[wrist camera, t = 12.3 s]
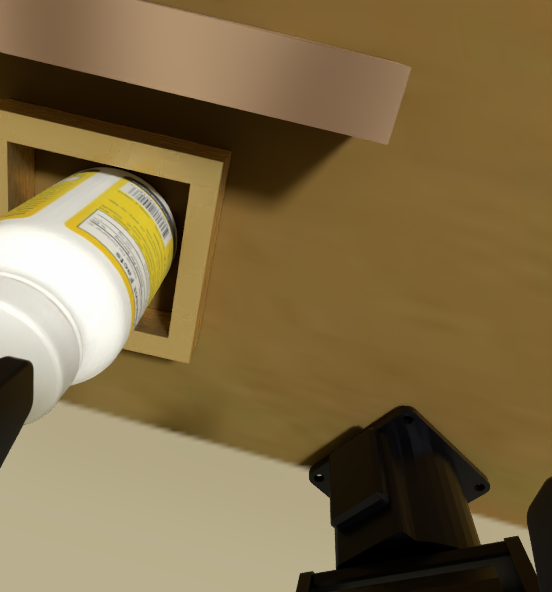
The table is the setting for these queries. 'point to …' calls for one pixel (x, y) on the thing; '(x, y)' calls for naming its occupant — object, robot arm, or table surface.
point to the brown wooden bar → (211, 61)
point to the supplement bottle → (80, 275)
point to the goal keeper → (142, 158)
